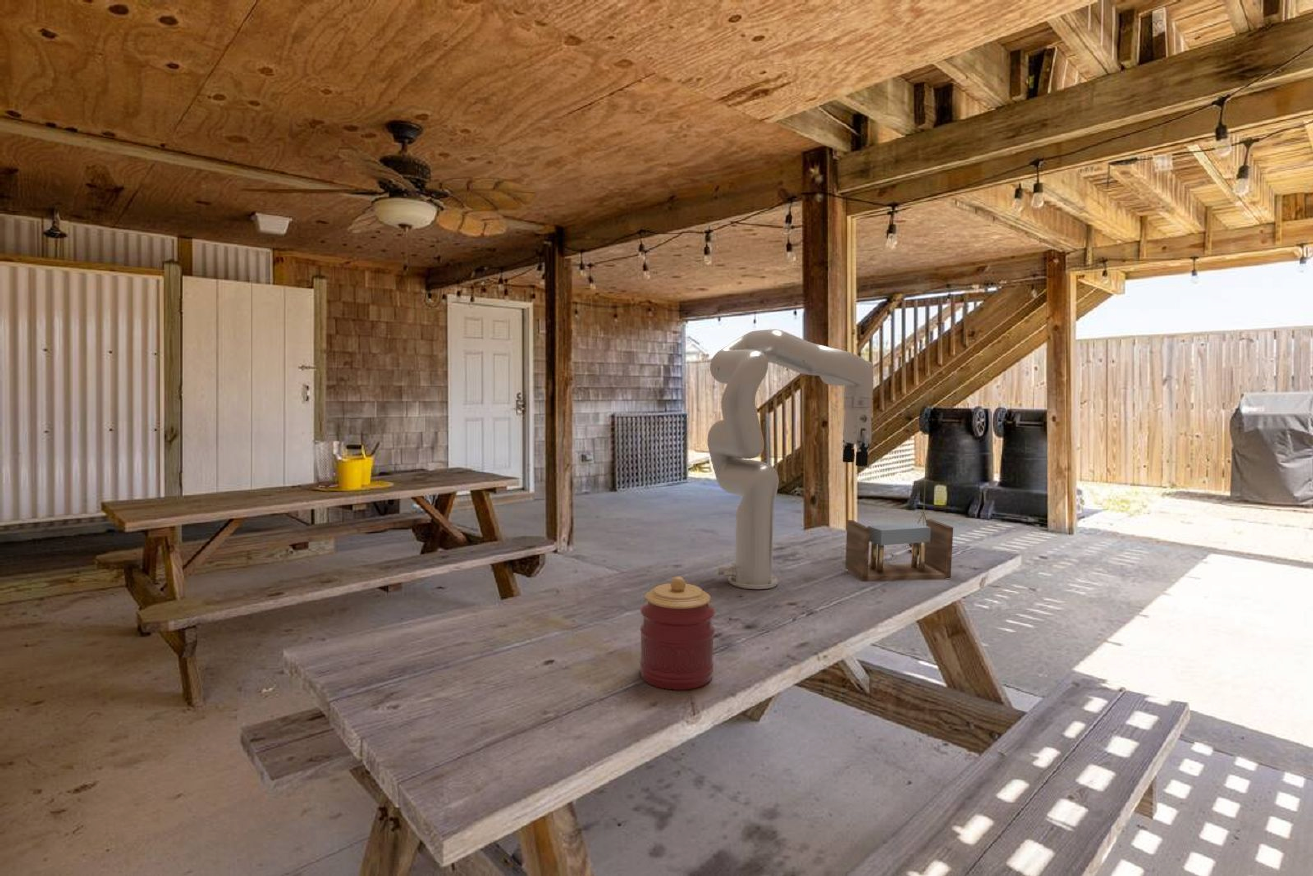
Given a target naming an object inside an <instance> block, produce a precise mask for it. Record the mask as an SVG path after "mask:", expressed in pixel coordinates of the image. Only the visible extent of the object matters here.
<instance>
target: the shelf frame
mask: <svg viewBox="0 0 1313 876" xmlns="http://www.w3.org/2000/svg"><path fill="white" fill-rule="evenodd" d="M846 521H847V522H846V541H845V543H846V544H845V567H844V568H845V569H847V570H848V571H849V572H851V573H852V574H851V573H850V574H851V575H853V574H854V575H855V576H854V575H853V576H854V577H855V578H857V577H858V578H857V579H859V580H860V581H862V582H867V581H868V582H871V581H873V582H874V581H908V580H909V581H913V580H914V579H915V580H914V581H916V580H917V579H923V580H947V579H946V578H951V577H952V558H953V541H954V538H953V537H954V526H950V525H948V524H945V523H943V522H939V521H937V520H935V519H932V518H931V519H930V518H929V519H927V518H926V521H925V524H926V525H925V526H928V527H931V534H930V542H926V553H925V572H919V571H918V566H919V563H917V568H911V563H906V564H905V563H904V564H902V563H901V564H899V563H898V564H895V563H894V564H883V573H877V564H876V569H870V564H869V556H870V541H869V535H870V528H868V526H865V525H863V524H861V523H859V522H857V521H855V520H851V519H847V520H846ZM845 569H844V570H845ZM848 571H847V572H848ZM849 572H848V573H849ZM917 581H918V580H917Z"/></svg>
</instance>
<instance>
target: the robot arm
mask: <svg viewBox="0 0 1313 876" xmlns="http://www.w3.org/2000/svg"><path fill="white" fill-rule="evenodd" d="M769 363H771V364H774V365H777V366H780V367H783V368H786V369H788V370H791V371H793V372H796V373H798V374H802V375H809V376H818V377H819V378H820V379H821V381H822V382H823V383H824V384H826V385H828V386H833V387H834V386H835V387H837V386H838V387H840V386H841V387H844V393H843V395H844V396H843V397H844V399H843V409H845V413H844V420H843V428H842V429H843V431H842V438H843V439H842V443H843V444H842V448H843V449H842V462H843V463H854V462H855V466H856V467H867V466H868V461H869V460H868V457H869V447H870V445H871V443H872V412H871V410H872V396H873V395H872V394H873V381H874V364H873V363H872V362H871V360H866V359H865V358H863V357H861V356H859V355H857V354H854V353H852V352H849V351H846V350H843V349H838V348H835V347H834V348H833V347H830V346H826V345H822V344H818V343H813V342H810V341H808V340H806V339H803V338H800V337H798V336H796V335H794V334H792V333H789V332H788V331H784V330H782V329H781V330H780V329H776V328H774V329H772V328H770V329H761V330H752V331H750V332H748V333H746V334H744V335H743V336H741V337H739V338H737V339H736V340H734V341H733V342H731V343H729V344H728V345H726V346H725V347H723V348H721V349H720V350H719V351H717V352H716V353H714V356H713V357H712V358H711V361H710V363H709V364H710V365H709V370H710V375H711V376H712V377H713V379H714V380H715V381H717V382H719V383H720V384H721V383H722V384H726V386H725V388H724V391H723V393H722V396H721V401H720V409H721V414H722V419H720V420H717V421H716V422H714V423H713V424H712V426H710V429H709V431H708V433H707V448H708V452H709V453H708V454H709V457H710V459H711V460H710V461H711V464H712V468H713V471H714V474H715V479H716V481H717V484H718V485H719V487H720V488H721V489H722V491H725V492H726V493H729V494H733V495H737V496H742V498H741V500H740V502H739V505H738V506H737V510H736V514H735V542H734V543H735V545H734V546H735V550H734V551H735V552H734V555H735V556H734V562H731V565H729V566H728V567H724V566H721V567H719V566H718V567H716V570H715V571H716V575H717V576H723V577H726V578H727V577H728V583H729V584H730V585H732V586H735V587H737V588H741V589H747V590H765V589H766V590H768V589H771V588H775V587H776V586H778V580H779V579H778V577H776V576H774V575H773V552H774V551H773V550H774V549H773V548H774V546H773V545H774V517H775V516H774V514H775V513H774V512H775V504H776V498H777V495H778V494H777V493H778V489H779V482H780V479H779V475H778V472H777V470H776V469H775V467H773V466H772V465H771V464H769V463H767V462H764V461H760V460H753V459H756V458H758V457H759V456H761V454H762V453H763V451H764V448H765V443H764V436H763V431H762V428H761V423H760V419H759V416H758V415H759V414H758V412H757V411H758V410H757V407H756V406H757V405H756V397H757V392H758V389H759V387H760V386H761V384H762V381H763V380H764V379H765V377H766V375H767V373H768V370H769ZM854 446H856V450H857V451H855V448H854Z"/></svg>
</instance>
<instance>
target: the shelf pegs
mask: <svg viewBox="0 0 1313 876" xmlns="http://www.w3.org/2000/svg"><path fill="white" fill-rule="evenodd" d="M884 552H885V545H878V544H876V543H873V542H870V562H869V565H870V569H876V565H877V573H883V565H884V556H885V555H884ZM925 553H926V542H921V543H920V546H919V551H918V543H912V548H911V557H910V558H911V560H910V564H911V568H917V564H919V566H918V571H919V572H925Z"/></svg>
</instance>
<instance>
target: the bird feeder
mask: <svg viewBox="0 0 1313 876" xmlns="http://www.w3.org/2000/svg"><path fill="white" fill-rule="evenodd" d="M927 460H928V457H925V470H924V485H923V486H924V488H923V490H924V491H923V504H922V505H923V506H922V507H923V508H922V509H923V510H922V514H921V515H920V518H919V519H918V522H917V524H920V522H921V519H922V517H923V519H922V525H924V526H925V522H926V520H927V518H926V514H925V507H926V506H925V503H926V500H925V499H926V487H927V486H926V482H927V462H928V461H927ZM907 545H908V546H909V547H910V548H911V549H912V543H907ZM919 546H920V543H918V552H919Z"/></svg>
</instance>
